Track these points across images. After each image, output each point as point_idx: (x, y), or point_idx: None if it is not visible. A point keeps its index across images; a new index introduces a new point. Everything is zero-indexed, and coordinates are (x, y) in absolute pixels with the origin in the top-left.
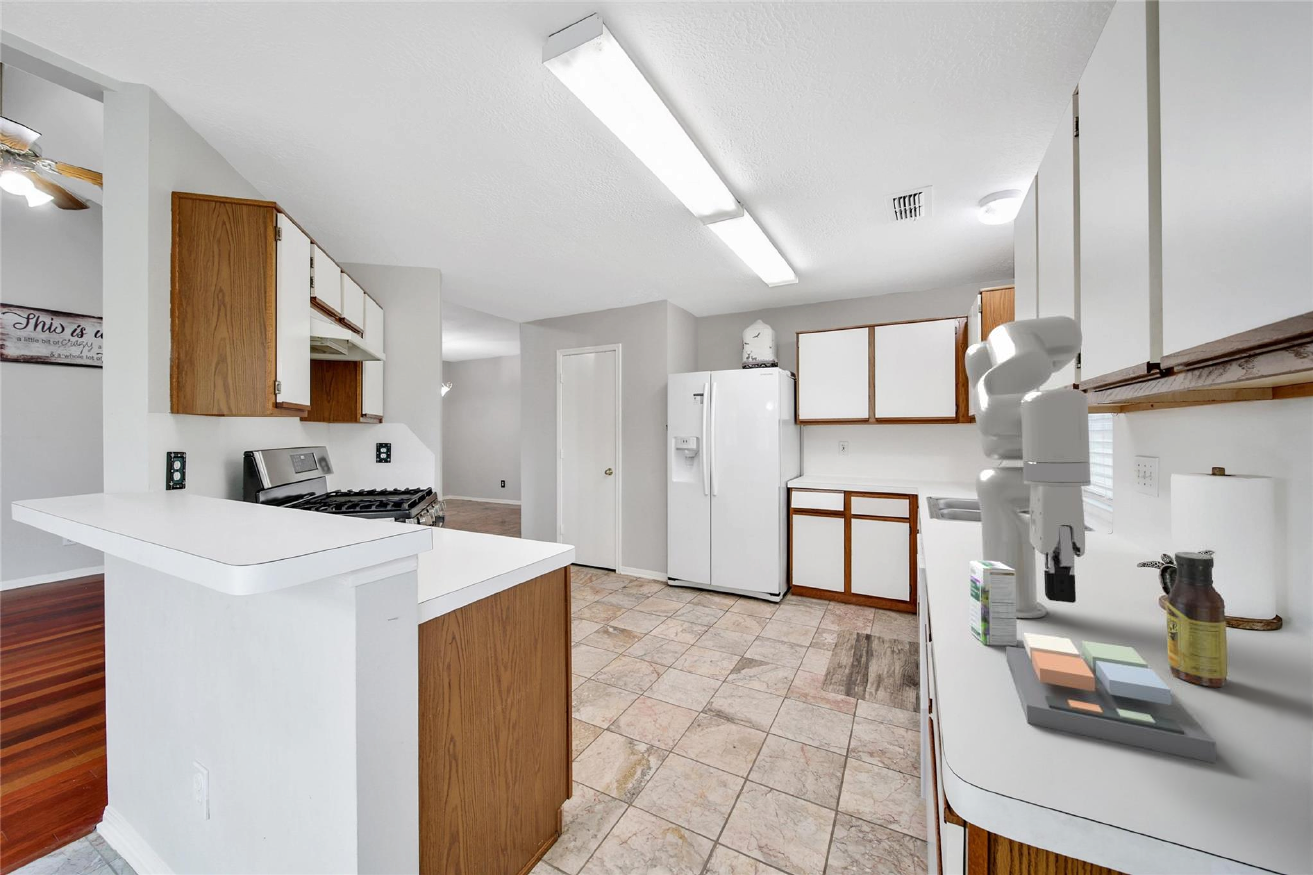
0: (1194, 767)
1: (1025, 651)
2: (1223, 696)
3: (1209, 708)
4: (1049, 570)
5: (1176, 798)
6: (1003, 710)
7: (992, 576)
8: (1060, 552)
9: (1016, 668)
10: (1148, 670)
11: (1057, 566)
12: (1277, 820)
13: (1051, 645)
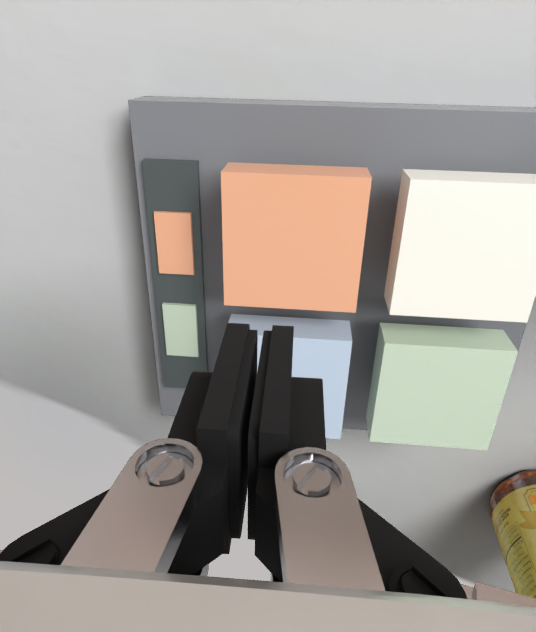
0: (139, 357)
1: None
2: (453, 499)
3: (389, 461)
4: (179, 459)
5: (16, 297)
6: (186, 39)
7: None
8: None
9: (387, 116)
10: (327, 430)
11: (35, 532)
12: (47, 394)
13: (445, 253)
